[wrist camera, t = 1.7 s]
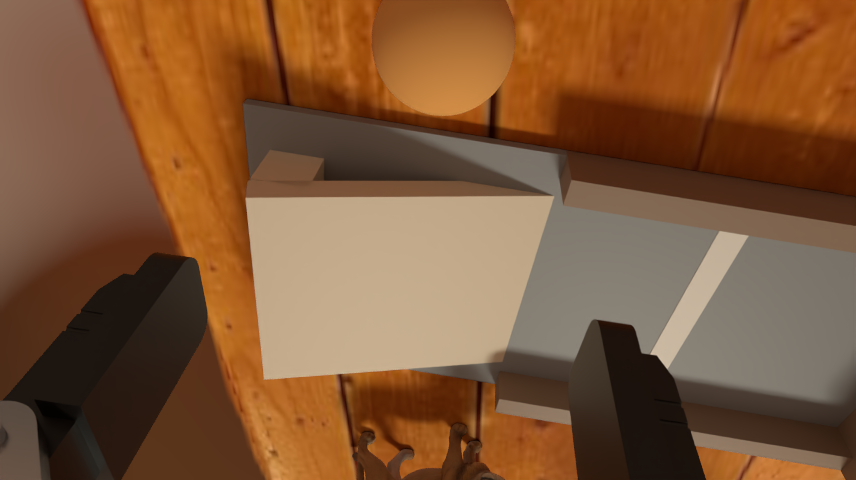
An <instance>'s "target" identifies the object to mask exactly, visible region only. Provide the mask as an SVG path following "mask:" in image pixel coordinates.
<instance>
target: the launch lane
mask: <svg viewBox="0 0 856 480" xmlns="http://www.w3.org/2000/svg"><path fill="white" fill-rule="evenodd" d="M243 112H244V123H245V133H246V144H247V154H248V165H249V176H250V181H247V189H246V207H247V217H248V227H249V237H250V246H251V256H252V266H253V275H254V285H255V295H256V305H257V314H258V324H259V334H260V344H261V353H262V363H263V373H264V380H265V379H278V378H292V377H305V376H319V375H332V374H345V373H359V372H372V371H386V370H399V369H409V370H415V371H421V372H427V373H433V374H439V375H445V376H451V377H457V378H463V379H469V380H475V381H481V382H487V383H493V384H496V385H495V412H497V413H503V414H509V415H515V416H521V417H527V418H533V419H539V420H545V421H551V422H557V423H563V424H569V425H571V416H570V408H569V400H568V384H569V377H570V372H571V368H572V366H573V363H574V361H575V358H576V356H577V353H578V351H579V349H580V346H581V344H582V341H583V339H584V336H585V334H586V331H587V329H588V326H589V324H590V323H591V321H592V320H594V319H596V320H603V321H610V322H616V323H623V324H630V325H632V326H633V327H634V328H635V331H636V334H637V338H638V341H639V345H640V349H641V352H642V353H644V354H651V355H657V356H658V358H659V359H660V360H661V362H662V363H663V364H664V366H665V367H666V368H667V370H668V371H669V372H670V374H671V375H672V376H673V378H674V380H675V383H676V386H677V389H678V392H679V396H680V399H681V402H682V404H681V407H682V408H684V411H685V415H686V418H687V421H688V428H690V430H691V434H692V437H693V440H694V443H695V446H700V447H706V448H712V449H717V450H723V451H729V452H735V453H741V454H747V455H753V456H759V457H765V458H771V459H777V460H783V461H789V462H795V463H801V464H807V465H813V466H819V467H825V468H830V469H836V470H841V472H842V474H843V476H844V477H845V479H846V480H856V197H854V196H848V195H841V194H835V193H829V192H823V191H816V190H810V189H804V188H798V187H792V186H785V185H779V184H773V183H767V182H761V181H754V180H748V179H742V178H736V177H730V176H723V175H717V174H711V173H705V172H699V171H692V170H686V169H680V168H674V167H667V166H661V165H655V164H649V163H643V162H636V161H630V160H624V159H618V158H612V157H605V156H599V155H593V154H587V153H581V152H574V151H568V150H562V149H556V148H549V147H543V146H537V145H531V144H525V143H518V142H512V141H506V140H500V139H494V138H487V137H481V136H475V135H469V134H463V133H456V132H450V131H444V130H438V129H431V128H425V127H419V126H413V125H407V124H400V123H394V122H388V121H382V120H376V119H369V118H363V117H357V116H351V115H345V114H338V113H332V112H326V111H320V110H313V109H307V108H301V107H295V106H289V105H282V104H276V103H270V102H264V101H258V100H251V99H246V100H245V101H244V103H243Z"/></svg>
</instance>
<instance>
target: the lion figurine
mask: <svg viewBox="0 0 856 480" xmlns="http://www.w3.org/2000/svg"><path fill="white" fill-rule="evenodd" d="M466 433H467V427H466V426H465V425H463V424H460V423H456V424H454V425H453V426H452V428H451V430H450V436H449V449H448V453H447V456H446V459H445V461H444V463H443V465H442V469H441V468H425V469H420V470H417V471H414V472H412V473H410V474H408V475H407V476H405V477H404V478H403V479H401V476H400V472H399V469H400V465H401V463H402V462H403V461H404V460H411V459H413V457H414V452H413V451H412V450H410V449H403V450H401V451H400V452H399V453H398V454H397V455H396V456H395V457H394V458H393V459H392V460H391V461H390V462H388V465H387V467H386V466H385V464H384V463H383V462H382V461H381V460H380V459H378V458H377V457H376V456H375V455H373V454H372V453H371V452H369V450H368V449H367V445H369V444H372V443H373V442H374V441H375V435H373V433H371V432H364V433H362V434H361V436H360V439H359V444H358V453H357V452H356V453H354V454H353V455H352V457H353V458H354V460H355V461H358V466H357V480H364V471H365V476H366V480H505V479H504V478H502V477H501V476H499V475H497V474H494V473H492V472H490V470H489V468H488V467H487V466H486V465H485V464H484V463H479V462H475V453H478V452H479V451H480V450H481V448H482V444H481V443H480V442H479V441H471V442H469V443H468V444H467V446H466V449H465V451H464V452H463V459H462V453H461V439H462V436H463V435H465V434H466Z"/></svg>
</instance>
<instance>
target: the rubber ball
mask: <svg viewBox="0 0 856 480" xmlns="http://www.w3.org/2000/svg"><path fill="white" fill-rule="evenodd" d="M514 49H515V27H514V22H513V18H512V14H511V12H510V9H509V6H508V4H507V2H506V0H382V2H381V4H380V6H379V8H378V11H377V13H376V16H375V19H374V23H373V29H372V51H373V57H374V61H375V65H376V67H377V70H378V72H379V75H380V77H381V78H382V80H383V82H384V84H385V85H386V86H387V88H388V89H389V90H390V92H391V93H392V94H393V95H394V96H395V97H396V98H398V99H399V100H400V101H401V102H402V103H404V104H405V105H407V106H409V107H410V108H412V109H415V110H417V111H419V112H422V113H426V114H430V115H438V116H450V115H456V114H460V113H464V112H467V111H469V110H471V109H474V108H475V107H477V106H479V105H480V104H482V103H483V102H485V101H486V100H487V99H489V98H490V97H491V96H492V95H493V94H494V93H495V92H496V90H497V89H498V88H499V87H500V85H501V84H502V82H503V81H504V79H505V77H506V75H507V73H508V71H509V69H510V67H511V63H512V60H513V56H514Z"/></svg>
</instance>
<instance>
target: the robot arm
mask: <svg viewBox="0 0 856 480" xmlns="http://www.w3.org/2000/svg"><path fill="white" fill-rule="evenodd" d="M206 325H207V307H206V302H205V297H204V291H203V286H202V281H201V276H200V271H199V266H198V263H197V261H196V259H194V258H191V257H185V256H178V255H171V254H165V253H158V252H157V253H153V254H152V255H150V256H149V257H148V259H147V260H146V261H145V262H144V263H143V265H142V266H141V267H140V268H139V270H138V271H137V272H136V274H135V275H129V274H123V275H121V276H119V277H118V278H116V279H114V280H113V281H111V282H110V283H108V284H107V285H105V286H103V287H102V288H100V289H99V290H98V291H97V292H96V293H95V294H94V295H93V297H92V298H91V299H90V300H89V301H88V302H87V304H86V305H85V306H84V307H83V308H82V309H81V313H80V314H77V315H76V316H75V317H74V319H73V320H72V321H71V322H70V323H69V324H68V326H67V329H66V331H62V333H61V334H60V335H59V336H58V337H57V338H56V339H55V341H54V342H53V343H52V344H51V345H50V346H49V348H48V349H47V350H46V351H45V352H44V353H43V355H42V356H41V357H40V358H39V359H38V360H37V362H36V363H35V364H34V365H33V366H32V367H31V369H30V370H29V371H28V372H27V373H26V374H25V376H24V377H23V378H22V379H21V380H20V381H19V383H18V384H17V385H16V386H15V387H14V388H13V390H12V391H11V392H10V393H9V394H8V395H7V396H6V397H5V398H4V399H3V400H2V401H0V480H121V479H122V477H123V475H124V474H125V472H126V470H127V469H128V467H129V465H130V464H131V462H132V460H133V458H134V456H135V455H136V453H137V451H138V450H139V448H140V446H141V444H142V443H143V441H144V439H145V438H146V436H147V434H148V432H149V431H150V429H151V427H152V425H153V423H154V422H155V420H156V418H157V417H158V415H159V413H160V411H161V410H162V408H163V406H164V405H165V403H166V401H167V399H168V397H169V396H170V394H171V392H172V391H173V389H174V387H175V385H176V384H177V382H178V380H179V379H180V377H181V375H182V373H183V371H184V370H185V368H186V366H187V365H188V363H189V361H190V359H191V358H192V356H193V354H194V353H195V351H196V349H197V347H198V346H199V344H200V342H201V340H202V338H203V335H204V332H205V329H206ZM568 400H569V408H570V416H571V425H572V433H573V442H574V450H575V458H576V467H577V475H578V480H706V478H705V475H704V472H703V469H702V465H701V462H700V459H699V456H698V453H697V450H696V446H695V443H694V440H693V437H692V434H691V430H690V428H688V421H687V418H686V415H685V411H684V408H682V407H681V404H682V402H681V399H680V396H679V392H678V389H677V386H676V383H675V380H674V378H673V376H672V375H671V374H670V372H669V371H668V370H667V368H666V367H665V366H664V364H663V363H662V362H661V360H660V359H659V358H658V356H657V355H651V354H644V353H642V352H641V349H640V345H639V341H638V338H637V334H636V331H635V328H634V327H633V326H632V325H630V324H623V323H616V322H610V321H603V320H596V319H594V320H592V321H591V323H590V324H589V326H588V329H587V331H586V334H585V336H584V339H583V341H582V344H581V346H580V349H579V351H578V353H577V356H576V358H575V361H574V363H573V366H572V368H571V372H570V377H569V384H568Z"/></svg>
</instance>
